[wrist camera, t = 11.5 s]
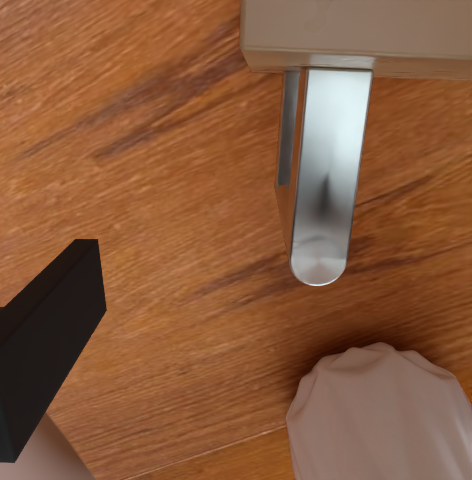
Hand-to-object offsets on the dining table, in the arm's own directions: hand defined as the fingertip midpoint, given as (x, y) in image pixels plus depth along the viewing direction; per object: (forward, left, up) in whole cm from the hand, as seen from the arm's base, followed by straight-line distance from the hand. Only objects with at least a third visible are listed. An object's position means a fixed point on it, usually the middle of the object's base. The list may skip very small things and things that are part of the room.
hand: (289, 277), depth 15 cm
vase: (+21, -4, -17) cm, 27 cm away
